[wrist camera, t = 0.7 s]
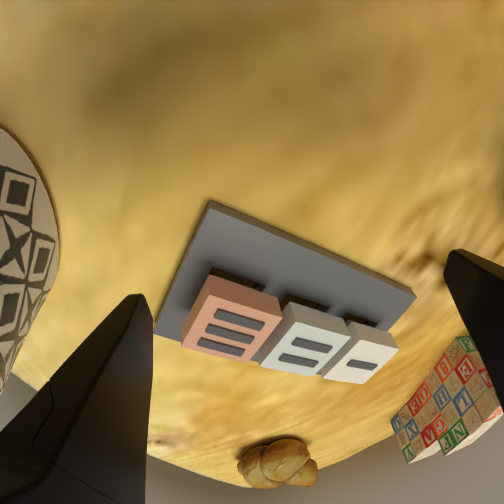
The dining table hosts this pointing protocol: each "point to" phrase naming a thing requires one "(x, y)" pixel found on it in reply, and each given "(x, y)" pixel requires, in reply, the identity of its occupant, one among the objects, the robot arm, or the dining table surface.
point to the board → (277, 273)
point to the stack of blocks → (448, 405)
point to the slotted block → (230, 320)
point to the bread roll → (278, 465)
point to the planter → (22, 249)
